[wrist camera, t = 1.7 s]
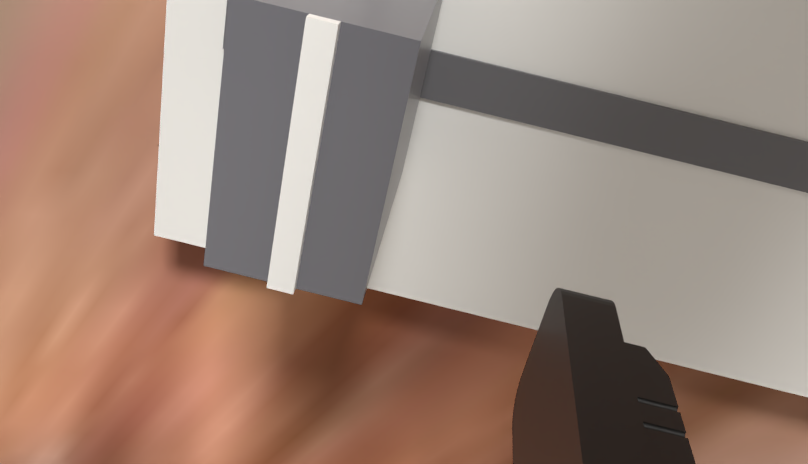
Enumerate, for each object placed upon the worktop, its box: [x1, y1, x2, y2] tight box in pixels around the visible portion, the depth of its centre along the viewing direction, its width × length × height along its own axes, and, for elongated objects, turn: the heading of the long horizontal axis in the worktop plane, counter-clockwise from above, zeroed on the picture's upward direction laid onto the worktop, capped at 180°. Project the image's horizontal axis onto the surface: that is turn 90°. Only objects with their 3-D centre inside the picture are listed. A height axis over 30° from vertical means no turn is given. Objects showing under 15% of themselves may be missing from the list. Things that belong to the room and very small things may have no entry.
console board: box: [154, 0, 808, 397], centre depth 19 cm, size 13×28×2 cm, turn 77°
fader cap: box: [204, 0, 442, 305], centre depth 15 cm, size 5×3×6 cm, turn 167°
